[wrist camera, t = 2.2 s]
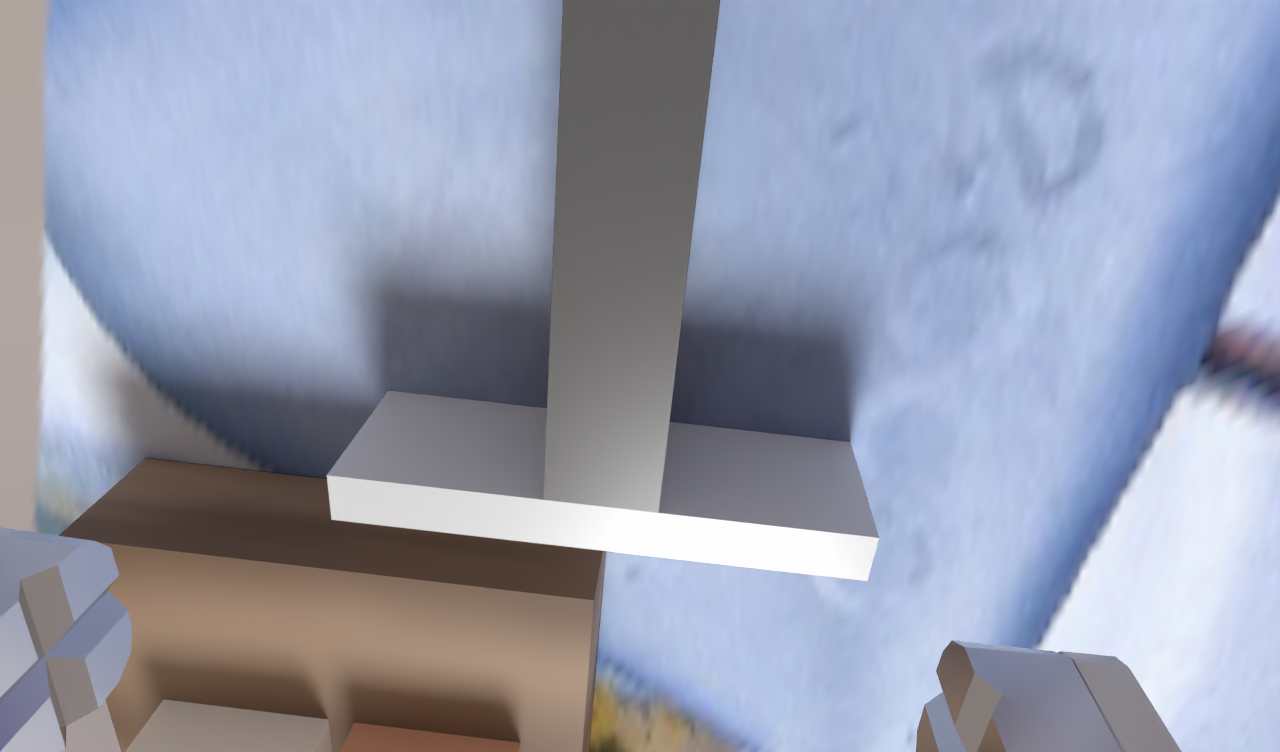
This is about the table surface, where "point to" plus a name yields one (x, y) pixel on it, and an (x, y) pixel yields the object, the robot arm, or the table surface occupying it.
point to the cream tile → (229, 730)
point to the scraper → (616, 356)
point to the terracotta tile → (418, 741)
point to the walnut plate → (342, 612)
